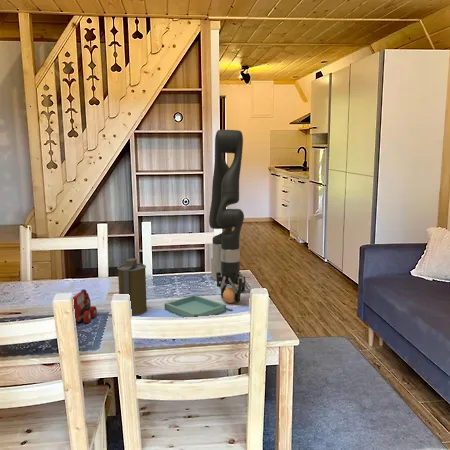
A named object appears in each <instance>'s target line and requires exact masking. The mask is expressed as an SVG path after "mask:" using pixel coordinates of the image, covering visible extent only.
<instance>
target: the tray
mask: <svg viewBox="0 0 450 450" xmlns="http://www.w3.org/2000/svg"><path fill="white" fill-rule="evenodd" d="M226 308H227V305H226V304H224V303H221V302H219V301H214V300H211V299H208V298H205V297H203V296H199V295H196V294H192V295H189V296H186V297H182V298H178V299H174V300H172V301H168V302H165V303H164V310H165V311H167V312H170V313H172V314H174V313H175V314H174V315H176V316H179V317H182V316H183V317H182V318H184V317H198V316H209V315H215V316H217V314H218V315H220V314H223V313H226V312H227V310H226ZM219 313H220V314H219Z"/></svg>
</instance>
